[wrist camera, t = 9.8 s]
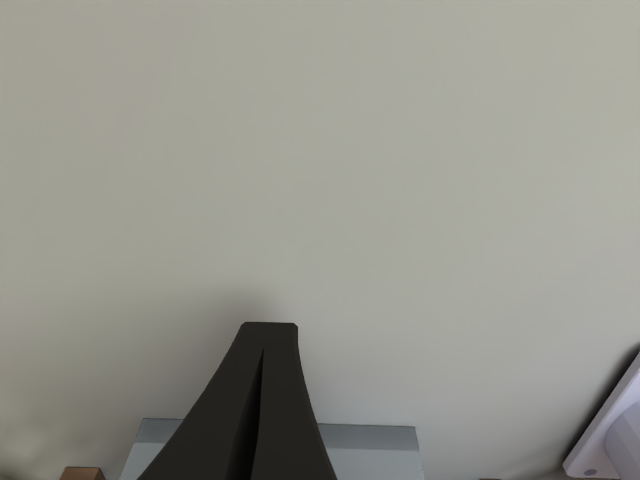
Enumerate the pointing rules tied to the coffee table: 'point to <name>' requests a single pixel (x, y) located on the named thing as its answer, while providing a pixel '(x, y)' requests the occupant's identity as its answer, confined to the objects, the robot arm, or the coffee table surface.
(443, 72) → the coffee table surface
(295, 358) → the robot arm
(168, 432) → the tray
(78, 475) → the wooden slatted crate
